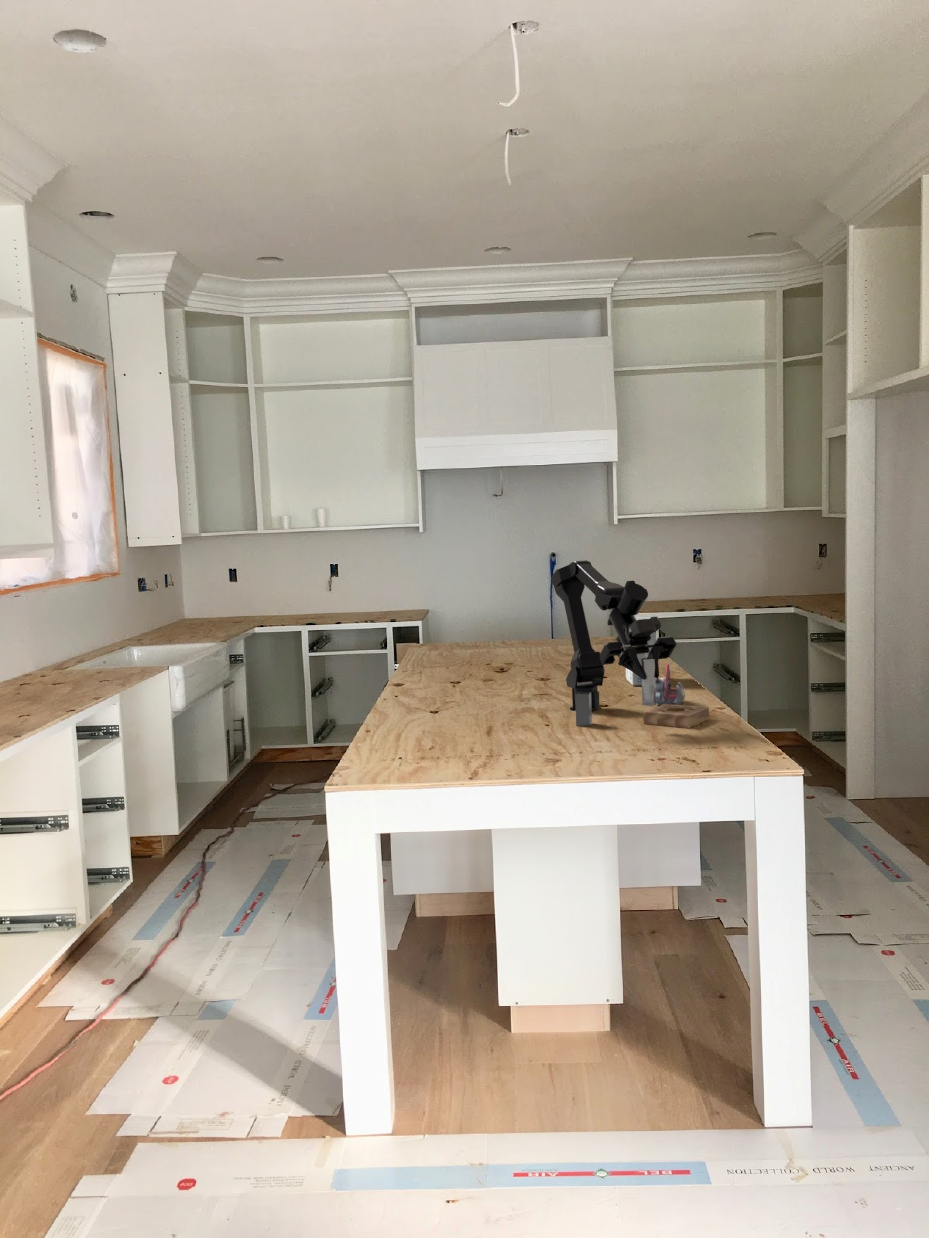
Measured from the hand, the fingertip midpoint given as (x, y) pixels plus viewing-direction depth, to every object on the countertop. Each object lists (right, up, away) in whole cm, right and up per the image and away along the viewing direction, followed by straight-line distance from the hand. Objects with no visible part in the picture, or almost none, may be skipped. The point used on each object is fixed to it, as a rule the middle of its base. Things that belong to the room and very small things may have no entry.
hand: (651, 677), depth 236 cm
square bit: (-14, -13, +13) cm, 23 cm away
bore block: (+9, -12, +12) cm, 19 cm away
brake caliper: (+11, -9, +37) cm, 40 cm away
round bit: (0, -6, +2) cm, 7 cm away
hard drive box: (+11, -6, +73) cm, 74 cm away
